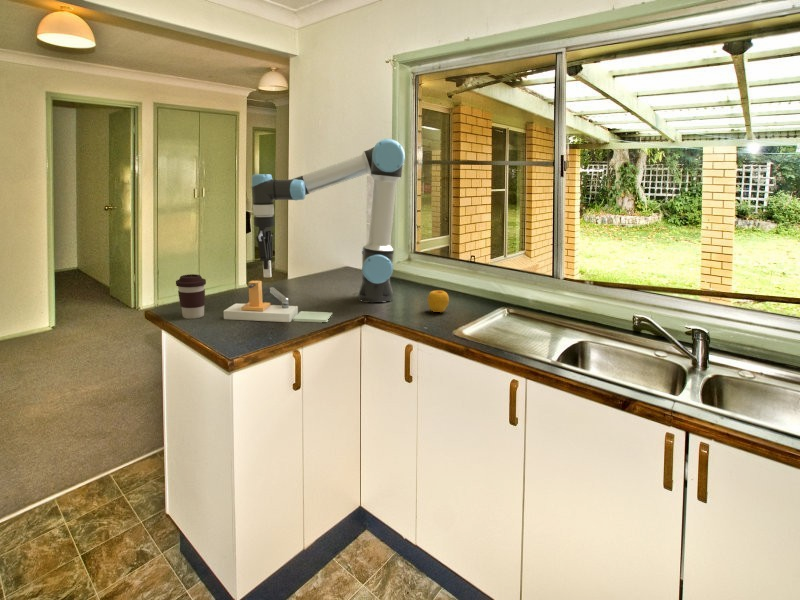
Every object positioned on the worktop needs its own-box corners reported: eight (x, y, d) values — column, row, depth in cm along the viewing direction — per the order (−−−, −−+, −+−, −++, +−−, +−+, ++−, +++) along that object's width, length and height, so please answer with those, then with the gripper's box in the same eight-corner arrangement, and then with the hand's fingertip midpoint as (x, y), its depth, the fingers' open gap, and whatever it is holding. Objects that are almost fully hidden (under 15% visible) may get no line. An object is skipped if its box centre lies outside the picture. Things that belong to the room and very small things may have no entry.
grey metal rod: (289, 303, 185) (289, 298, 185) (282, 304, 184) (282, 299, 184) (274, 291, 203) (274, 287, 203) (268, 292, 202) (268, 287, 201)
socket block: (297, 313, 189) (297, 302, 188) (289, 322, 179) (289, 310, 178) (235, 311, 191) (235, 300, 190) (224, 319, 180) (223, 307, 179)
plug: (270, 313, 188) (269, 280, 185) (262, 320, 179) (260, 285, 176) (249, 312, 189) (248, 279, 186) (240, 319, 180) (238, 284, 177)
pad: (332, 315, 189) (332, 312, 189) (326, 322, 179) (326, 320, 179) (300, 313, 190) (300, 311, 189) (293, 321, 180) (293, 318, 180)
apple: (442, 316, 191) (443, 293, 189) (422, 312, 196) (423, 290, 194) (451, 311, 198) (453, 289, 196) (433, 308, 203) (434, 287, 201)
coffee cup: (184, 312, 187) (180, 273, 183) (211, 312, 188) (208, 273, 184) (174, 320, 177) (171, 278, 174) (203, 320, 178) (200, 278, 174)
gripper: (260, 214, 197) (263, 273, 202) (248, 217, 184) (252, 280, 190) (278, 214, 196) (282, 273, 202) (268, 217, 184) (271, 280, 189)
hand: (267, 276), depth 196 cm, fingers closed
